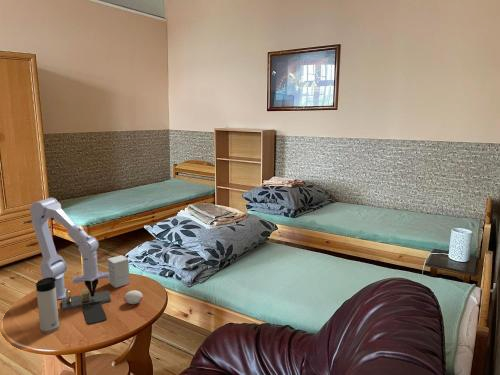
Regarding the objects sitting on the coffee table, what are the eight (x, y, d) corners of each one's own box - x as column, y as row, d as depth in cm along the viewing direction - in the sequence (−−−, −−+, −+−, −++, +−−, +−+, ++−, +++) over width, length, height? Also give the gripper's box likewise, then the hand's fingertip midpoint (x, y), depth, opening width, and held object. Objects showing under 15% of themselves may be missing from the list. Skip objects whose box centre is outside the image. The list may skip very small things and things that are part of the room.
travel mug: (58, 331, 142) (53, 282, 138) (38, 334, 140) (33, 284, 136) (61, 323, 148) (57, 275, 144) (42, 325, 146) (37, 277, 142)
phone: (100, 303, 163) (107, 319, 150) (100, 304, 163) (107, 321, 150) (82, 307, 159) (87, 324, 147) (82, 309, 159) (87, 326, 147)
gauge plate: (62, 301, 165) (61, 287, 164) (108, 292, 173) (108, 279, 172) (62, 310, 157) (61, 296, 156) (111, 301, 165) (110, 287, 164)
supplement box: (123, 278, 188) (122, 254, 185) (130, 283, 182) (128, 259, 180) (108, 283, 183) (107, 258, 180) (115, 288, 177) (113, 263, 175)
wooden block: (81, 296, 166) (80, 289, 165) (88, 295, 167) (88, 288, 166) (81, 301, 161) (81, 294, 161) (89, 300, 162) (88, 293, 162)
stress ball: (142, 307, 167) (142, 291, 170) (142, 304, 160) (142, 288, 163) (124, 308, 165) (125, 292, 168) (123, 306, 158) (123, 290, 161)
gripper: (71, 272, 156) (74, 303, 158) (109, 266, 162) (111, 296, 165) (71, 266, 162) (74, 295, 165) (107, 261, 168) (109, 289, 171)
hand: (92, 295), depth 165 cm, fingers closed
